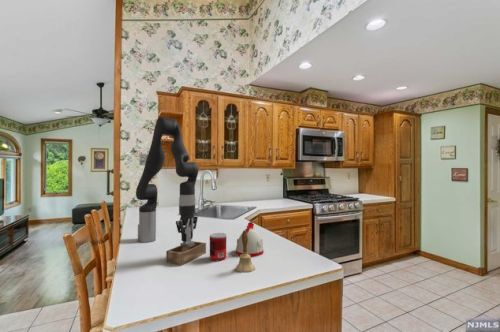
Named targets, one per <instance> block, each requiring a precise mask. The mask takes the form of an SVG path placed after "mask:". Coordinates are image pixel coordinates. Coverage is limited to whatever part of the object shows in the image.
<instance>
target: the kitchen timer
mask: <svg viewBox="0 0 500 332" xmlns="http://www.w3.org/2000/svg"><path fill="white" fill-rule="evenodd" d="M254 226H255V223H254V222H253V221H251V222H248V223H247V225H246V228H245V230H246V232H247V235H248V242H247V254H249V255H250V256H251V258H254V257H255V258H256V257H259V256H261V255H263V254H264V240H263V238H261V236H260V234H259V233H258V232H257V231H256V230H255V229H254ZM242 234H243V232H242V233H241V234H240V235H239V237H238V238H237V239H236V246H235V253H236V255H237V256H239V257H240V255H242V254H243V243H242Z"/></svg>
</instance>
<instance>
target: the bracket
mask: <svg viewBox="0 0 500 332" xmlns="http://www.w3.org/2000/svg"><path fill="white" fill-rule="evenodd" d="M183 230H184V228H183ZM186 234H187V241H186V242H183V241H181V242H180V245H179V246H181V247H187V248H190V247H192V246H194V242H191V241H192V239H191V226H188V229H187V232H186Z"/></svg>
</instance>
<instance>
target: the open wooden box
mask: <svg viewBox="0 0 500 332" xmlns="http://www.w3.org/2000/svg"><path fill="white" fill-rule="evenodd" d="M191 242H194V246H192V247H190V248H187V247H181V246H180V245H178V246H175V247H173V248H170V249H168V250H166V251H165V252H166V254H165V255H166V257H165V259H166V260H165V261H166V263H168V264H172V265H178V266H185V264H186V265H187V264H188V263H190V262H192V261H194V260H196V259H198V258H200V257H201V256H203V255H206V254H207V243H206V242H202V241H195V240H191Z"/></svg>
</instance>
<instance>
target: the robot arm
mask: <svg viewBox="0 0 500 332" xmlns="http://www.w3.org/2000/svg"><path fill="white" fill-rule="evenodd" d="M154 124H155V125H154V130H153V135H152V140H151V144H150V148H149V151H148V152H147V153H148V154H147V156H146V160H145V163H144V167H143V170H142V173H141V176H140V179H139V181H138V185H137V186H136V189H135V197H136V199H137V200H139V201H146V202H145V203H144V204H142V205H140V206H139V208H138V212H139V213H138V216H139V217H138V225H137V241H138V242H139V243H151V242H155V241H156V239H157V235H156V234H157V206H158V188H157V184H155V183H150V182H151V181H152V179H153V178H154V177H155V176H156V175H157V174H158V173H159V172H160V171H161V170H162V169H163V167H164V166H163V165H164V163H165V159H166V155H165V151H164V147H163V146H162V137H163V135H164V136H171V137H172V138H173V141H172V143H171V146H170V151H171V154H172V156H173V159H174V163H175V173H176V175H177V176H178V177H180V178H187V180H186V181H183V182H180V183H179V199H178V214H179V215H180V218H179V220H176V221H175V225H176V230H177V234H178V233H179V234H180V235H181V242H186V241H187V234H186V232H187V229H188V226H191V240H193V237H194V235H193V234H194V230H196V229H197V228H196V227H197V223H198V216H195V214H196V195H195V194H196V189H195V188H196V187H195V186H196V183H197V178H198V175H199V171H200V170H199V166H198V163H196V162H194V161H193V162H191V161H189V159H190V156H189V153H188V151H187V148H186V146H185V144H184V140H183V137H182V133H181V129H180V125H179V123H178V121H177V120H176V119H174V118H169V117H165V116H159V117H157V119H156V121H155V123H154ZM183 228H184V230H183Z"/></svg>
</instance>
